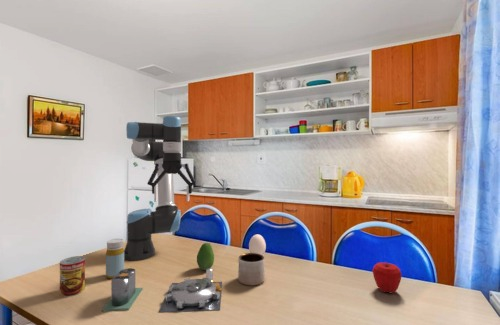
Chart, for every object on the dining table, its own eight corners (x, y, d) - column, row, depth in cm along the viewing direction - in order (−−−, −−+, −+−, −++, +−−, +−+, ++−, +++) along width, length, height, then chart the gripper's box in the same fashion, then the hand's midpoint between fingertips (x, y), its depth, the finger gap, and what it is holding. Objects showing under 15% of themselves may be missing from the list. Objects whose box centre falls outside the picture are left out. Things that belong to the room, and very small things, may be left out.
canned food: (58, 298, 94) (57, 265, 94) (61, 289, 101) (61, 258, 101) (84, 293, 98) (83, 261, 98) (85, 284, 105) (85, 254, 105)
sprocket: (210, 278, 110) (210, 258, 110) (229, 300, 93) (229, 277, 93) (161, 288, 101) (161, 267, 101) (172, 315, 84) (172, 290, 84)
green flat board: (119, 289, 101) (119, 288, 101) (142, 289, 102) (142, 287, 102) (102, 310, 87) (102, 308, 87) (128, 310, 88) (128, 307, 88)
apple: (398, 286, 104) (398, 259, 104) (404, 299, 95) (404, 269, 95) (371, 283, 107) (371, 256, 107) (374, 294, 98) (374, 265, 98)
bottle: (116, 279, 109) (116, 243, 109) (102, 278, 111) (101, 242, 110) (127, 272, 116) (127, 238, 116) (113, 271, 118) (113, 237, 117)
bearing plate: (172, 283, 106) (172, 282, 106) (222, 282, 108) (222, 280, 108) (158, 312, 86) (158, 310, 86) (220, 310, 88) (220, 308, 88)
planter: (232, 280, 109) (232, 257, 109) (250, 272, 117) (250, 250, 117) (252, 289, 102) (252, 264, 102) (269, 279, 110) (270, 256, 110)
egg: (255, 252, 142) (255, 231, 142) (268, 256, 137) (269, 234, 137) (245, 257, 135) (245, 235, 135) (259, 261, 130) (259, 238, 130)
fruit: (217, 267, 122) (217, 241, 122) (207, 274, 115) (207, 246, 115) (203, 264, 125) (203, 239, 125) (193, 271, 118) (193, 244, 118)
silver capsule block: (122, 289, 100) (122, 268, 100) (137, 289, 100) (137, 267, 100) (108, 306, 88) (108, 282, 88) (125, 305, 89) (125, 282, 89)
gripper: (139, 151, 110) (139, 202, 110) (200, 152, 112) (200, 202, 112) (145, 152, 117) (145, 200, 118) (202, 152, 119) (202, 199, 119)
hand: (172, 201), depth 115 cm, fingers open, 13 cm apart
